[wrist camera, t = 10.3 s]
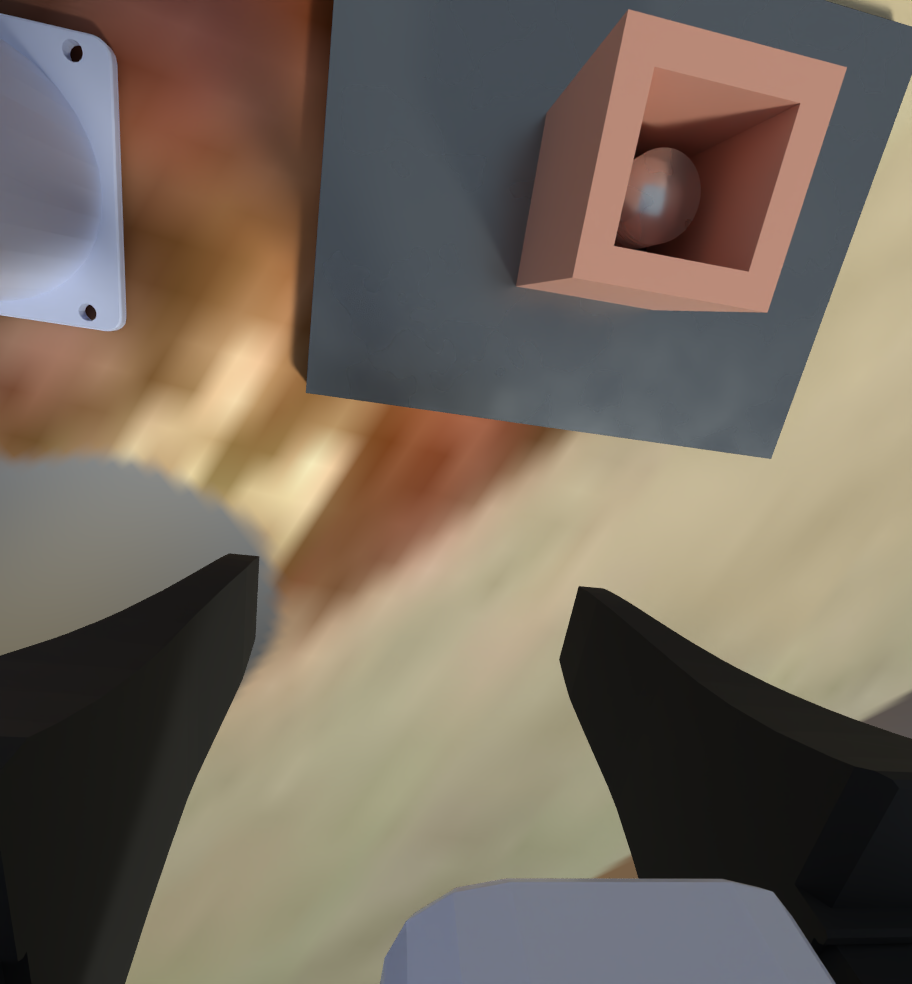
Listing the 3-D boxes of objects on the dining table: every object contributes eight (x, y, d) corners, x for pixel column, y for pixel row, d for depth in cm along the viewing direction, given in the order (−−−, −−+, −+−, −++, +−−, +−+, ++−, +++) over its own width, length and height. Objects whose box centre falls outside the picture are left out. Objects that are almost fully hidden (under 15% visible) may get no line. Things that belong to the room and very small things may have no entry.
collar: (515, 286, 18) (572, 277, 12) (546, 113, 16) (628, 8, 10) (653, 310, 18) (767, 312, 13) (695, 146, 17) (846, 67, 11)
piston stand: (310, 388, 19) (282, 415, 14) (347, -116, 15) (324, -314, 10) (754, 452, 22) (853, 492, 17) (898, 45, 17) (1085, -50, 13)
